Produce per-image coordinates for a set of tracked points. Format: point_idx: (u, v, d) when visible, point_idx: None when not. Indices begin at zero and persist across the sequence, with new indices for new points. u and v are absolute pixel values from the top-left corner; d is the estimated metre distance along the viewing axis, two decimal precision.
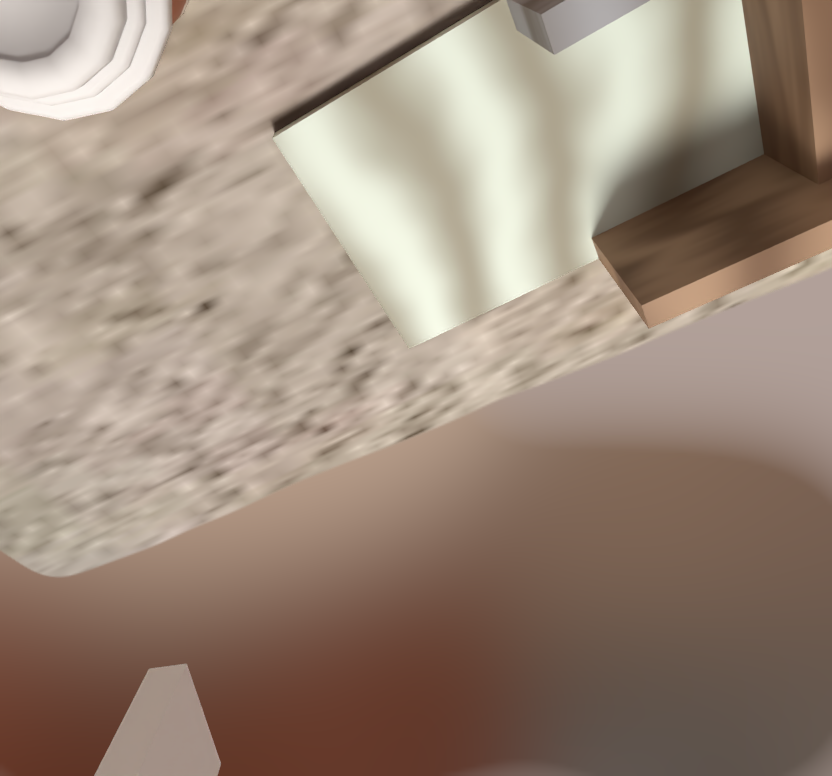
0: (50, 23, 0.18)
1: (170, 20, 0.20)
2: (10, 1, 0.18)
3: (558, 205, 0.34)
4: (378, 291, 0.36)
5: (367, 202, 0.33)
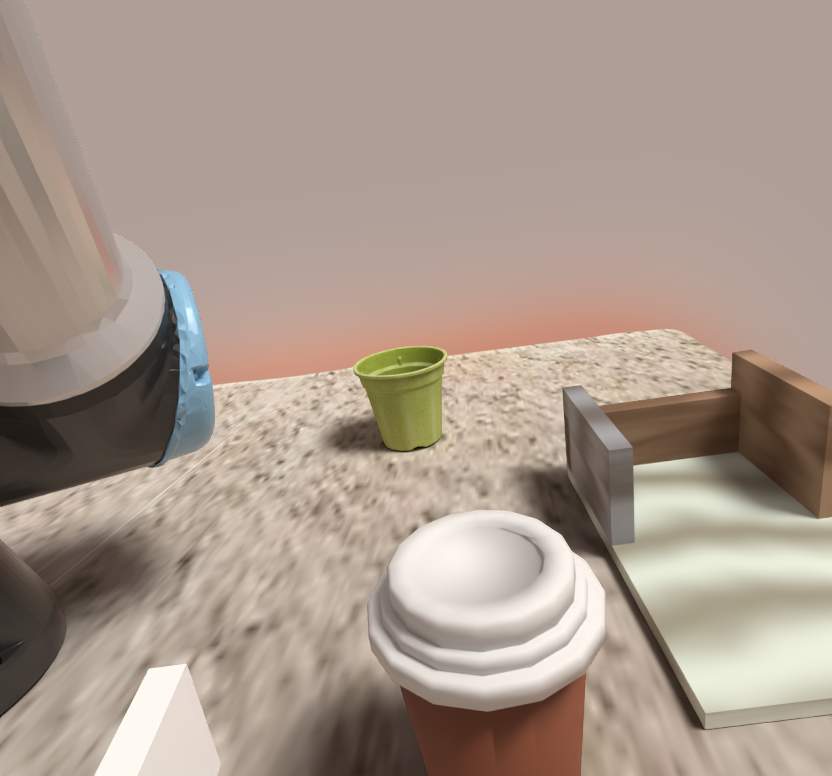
0: (525, 552, 0.23)
1: None
2: (502, 564, 0.22)
3: (784, 534, 0.38)
4: None
5: (788, 656, 0.29)
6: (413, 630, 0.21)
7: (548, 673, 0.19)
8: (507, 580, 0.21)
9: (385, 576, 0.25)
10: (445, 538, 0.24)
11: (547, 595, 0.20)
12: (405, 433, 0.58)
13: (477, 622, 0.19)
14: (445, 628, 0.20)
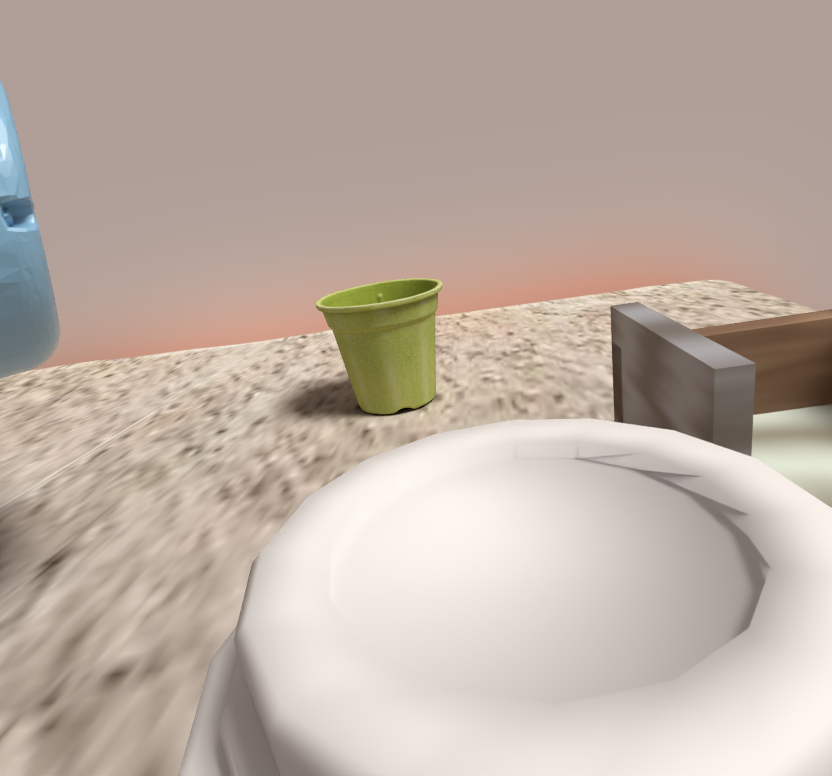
0: (668, 513, 0.08)
1: None
2: (608, 550, 0.07)
3: None
4: None
5: None
6: None
7: None
8: (641, 601, 0.06)
9: None
10: (431, 484, 0.09)
11: None
12: (386, 389, 0.43)
13: None
14: None
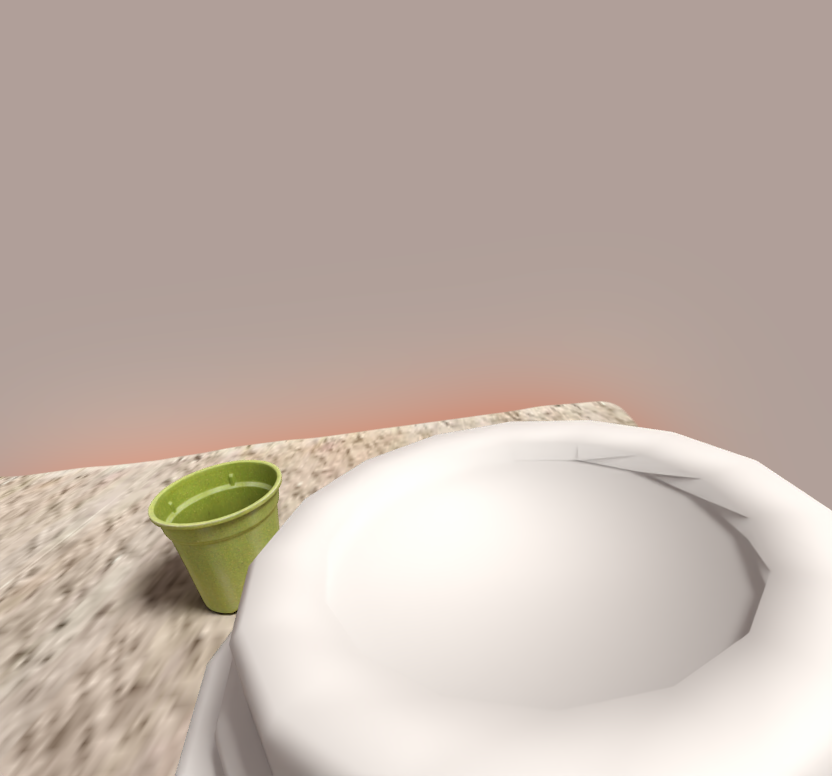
0: (668, 516, 0.07)
1: None
2: (607, 553, 0.07)
3: None
4: None
5: None
6: None
7: None
8: (640, 606, 0.06)
9: None
10: (429, 487, 0.09)
11: None
12: (221, 593, 0.42)
13: None
14: None
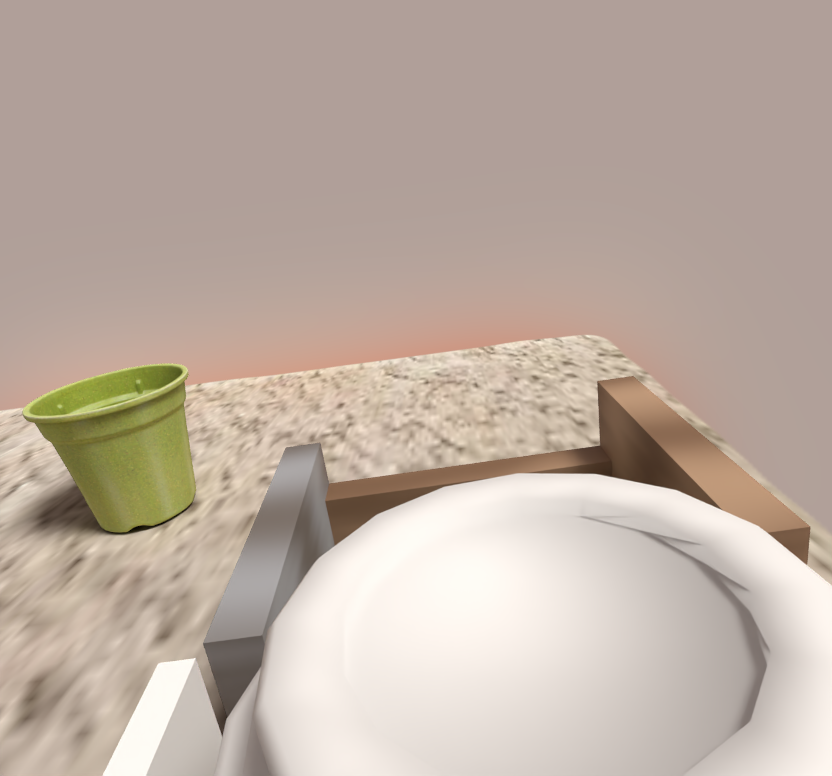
0: (672, 582, 0.08)
1: None
2: (614, 623, 0.07)
3: None
4: None
5: None
6: None
7: None
8: (646, 683, 0.06)
9: None
10: (439, 543, 0.09)
11: None
12: (111, 507, 0.36)
13: None
14: None
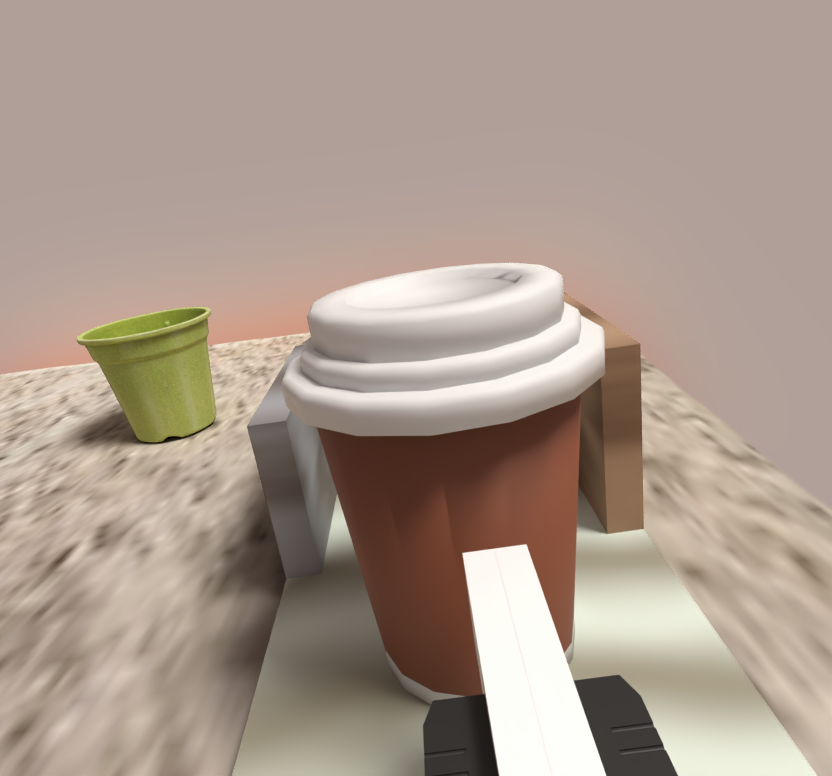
0: (496, 284, 0.17)
1: None
2: (465, 293, 0.16)
3: None
4: None
5: None
6: (335, 352, 0.15)
7: (520, 382, 0.13)
8: None
9: None
10: (394, 289, 0.18)
11: (520, 291, 0.14)
12: (148, 419, 0.44)
13: (419, 315, 0.13)
14: (374, 329, 0.14)
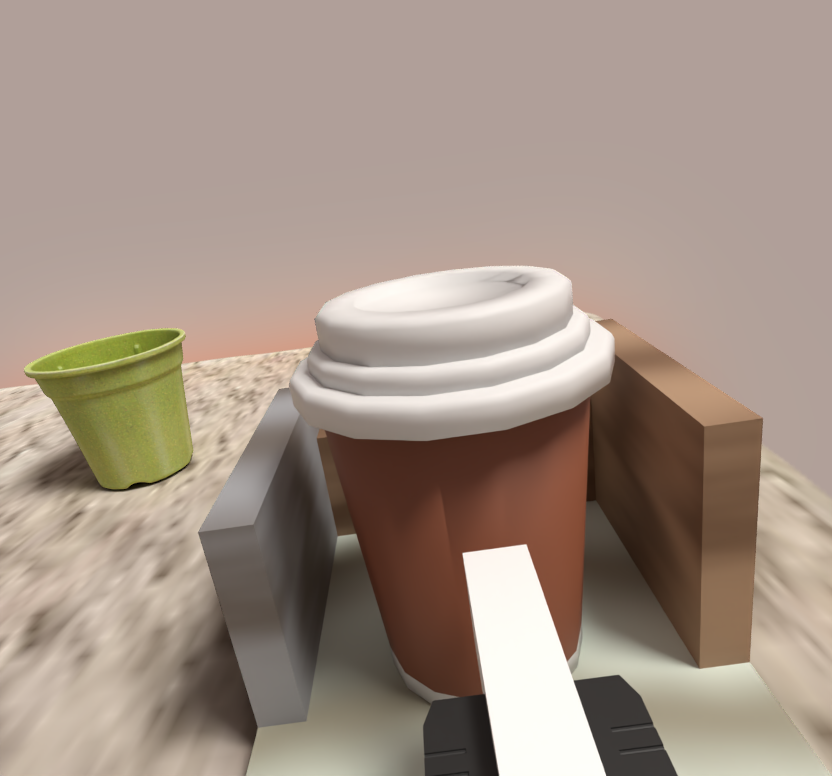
0: (505, 288, 0.17)
1: None
2: (472, 296, 0.16)
3: None
4: None
5: None
6: (338, 355, 0.15)
7: (517, 390, 0.13)
8: None
9: None
10: (406, 291, 0.19)
11: (522, 298, 0.14)
12: (110, 463, 0.37)
13: (417, 320, 0.14)
14: (374, 333, 0.14)
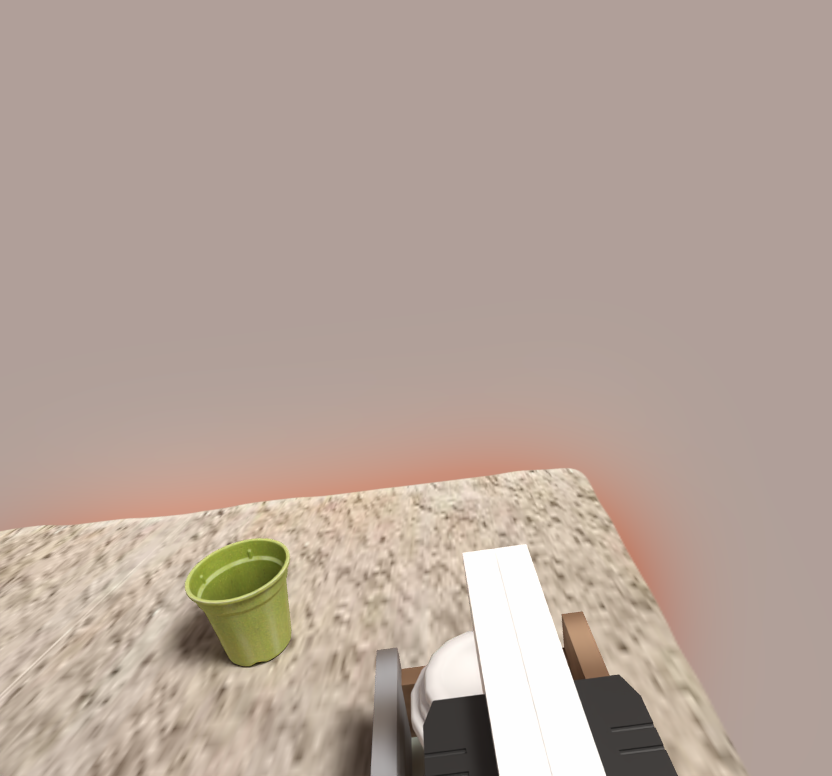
0: None
1: None
2: None
3: None
4: None
5: None
6: None
7: None
8: None
9: (423, 672, 0.36)
10: (464, 651, 0.36)
11: None
12: (241, 651, 0.54)
13: None
14: None
